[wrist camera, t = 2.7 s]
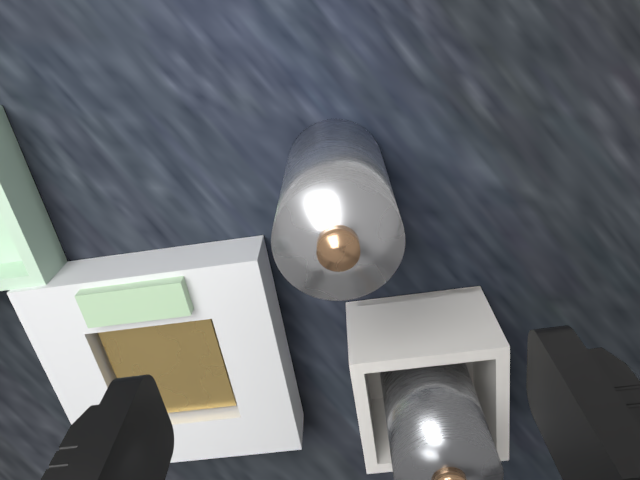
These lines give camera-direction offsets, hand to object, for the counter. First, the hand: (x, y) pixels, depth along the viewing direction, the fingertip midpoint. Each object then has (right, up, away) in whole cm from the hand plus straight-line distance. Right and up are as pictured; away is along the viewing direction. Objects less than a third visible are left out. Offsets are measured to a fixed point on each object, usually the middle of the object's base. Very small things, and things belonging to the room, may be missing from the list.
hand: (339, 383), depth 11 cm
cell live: (0, +7, +13) cm, 15 cm away
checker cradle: (-8, -3, +18) cm, 20 cm away
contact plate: (-8, -3, +17) cm, 19 cm away
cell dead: (+5, -3, +17) cm, 18 cm away
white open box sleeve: (+5, -3, +18) cm, 19 cm away
